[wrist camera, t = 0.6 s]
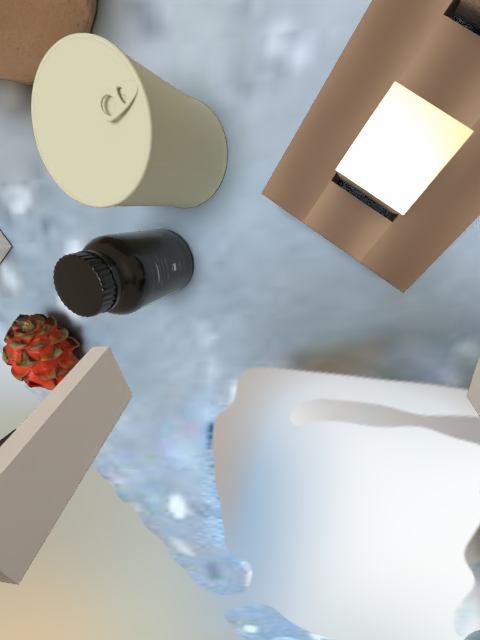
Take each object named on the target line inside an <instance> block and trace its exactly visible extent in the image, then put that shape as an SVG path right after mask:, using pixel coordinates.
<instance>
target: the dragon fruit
mask: <svg viewBox="0 0 480 640" xmlns="http://www.w3.org/2000/svg"><path fill="white" fill-rule="evenodd" d="M68 339H70V340H73V341H70V340H68ZM4 342H6V343H7V345H6V346H4V348H3V357H2V358H3V360H4V361H5V362H6V363H7V365H11V366H12V369H11V372H12V374H13V376H14V377H15V378H16V379H18V380H20V381H23V380H24V381H25V383H26V384H27V385H28V386H29V387H31V388H32V387H43V388H46V389H48V390H53V389H54V388H55V387H56V386H57V385H58V384H59V383H60V382H61V381H62V379H63V378H64V377H65V376H66V375H67V374H68V373H69V372H70V371H71V370H72V369H73V368H74V366H75V365H76V364H77V363H78V362H79V361H80V359H79V360H78V359H77V358H76V357H75V356H74V355H73V350H74V349H75V348H77V347H79V346H80V343H79V341H77V340H76V339H75V338H74V337H70V336H68V331H67V329H66V328H65V327H62V326H57V322H56V319H55V318H54V317H53V316H50V317H49V318H47V317H46V316H45V315H43V314H35V315H30V316H29V315H21V314H20V316H18V317H17V319H16V320H15V321H14V322H13V323H12V327H10V329H9V330H8V332H7V334H6V336H5V339H4Z"/></svg>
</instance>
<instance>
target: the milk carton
mask: <svg viewBox="0 0 480 640" xmlns="http://www.w3.org/2000/svg"><path fill="white" fill-rule="evenodd" d="M10 248H11V245H10V243H9V242H8V241H7V239H6V238H5V237H4V235H3V234H2V232H1V231H0V262H1V261H2V259H3V258H4V257H5V255H6V254H7V252H8V251H9V250H10Z"/></svg>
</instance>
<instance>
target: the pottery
mask: <svg viewBox="0 0 480 640" xmlns="http://www.w3.org/2000/svg"><path fill="white" fill-rule="evenodd" d="M96 2H97V0H0V78H1V79H5V80H10V81H15V82H20V83H24V84H27V85H33V84H34V80H35V76H36V73H37V70H38V68H39V65H40V63H41V61H42V59H43V58H44V56H45V54H46V53H47V52H48V50H49V49H50V48H51V47H52V46H53V45H54V44H55V43H56V42H58V41H59V40H60V39H62V38H64V37H66V36H68V35H71V34H75V33H90V31H91V27H92V24H93V20H94V17H95V13H96Z"/></svg>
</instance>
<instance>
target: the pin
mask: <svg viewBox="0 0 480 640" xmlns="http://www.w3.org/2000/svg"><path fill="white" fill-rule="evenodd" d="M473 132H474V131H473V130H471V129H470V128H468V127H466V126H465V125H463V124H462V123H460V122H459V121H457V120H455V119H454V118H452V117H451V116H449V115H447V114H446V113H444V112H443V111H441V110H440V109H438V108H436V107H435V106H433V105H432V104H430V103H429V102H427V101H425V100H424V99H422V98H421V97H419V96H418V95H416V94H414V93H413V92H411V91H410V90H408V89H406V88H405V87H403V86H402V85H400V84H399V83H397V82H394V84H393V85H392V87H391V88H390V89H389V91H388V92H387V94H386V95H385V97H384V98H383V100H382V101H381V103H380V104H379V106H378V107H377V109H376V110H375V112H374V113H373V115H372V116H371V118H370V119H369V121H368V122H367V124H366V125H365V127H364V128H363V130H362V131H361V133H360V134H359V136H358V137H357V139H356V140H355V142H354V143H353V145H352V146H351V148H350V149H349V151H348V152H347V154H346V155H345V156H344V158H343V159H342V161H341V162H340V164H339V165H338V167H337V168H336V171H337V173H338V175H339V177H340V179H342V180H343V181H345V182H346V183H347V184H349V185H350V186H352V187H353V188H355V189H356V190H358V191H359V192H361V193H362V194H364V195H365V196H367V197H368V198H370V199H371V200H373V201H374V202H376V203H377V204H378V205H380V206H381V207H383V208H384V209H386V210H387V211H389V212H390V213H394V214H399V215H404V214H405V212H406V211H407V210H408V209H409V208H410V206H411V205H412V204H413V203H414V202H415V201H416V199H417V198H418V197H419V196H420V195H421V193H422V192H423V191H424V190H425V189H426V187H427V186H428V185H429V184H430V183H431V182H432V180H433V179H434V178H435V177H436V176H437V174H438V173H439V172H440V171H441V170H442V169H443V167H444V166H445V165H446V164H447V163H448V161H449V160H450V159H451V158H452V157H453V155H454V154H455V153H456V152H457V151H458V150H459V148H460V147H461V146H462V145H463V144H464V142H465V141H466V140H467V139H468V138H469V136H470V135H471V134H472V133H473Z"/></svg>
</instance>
